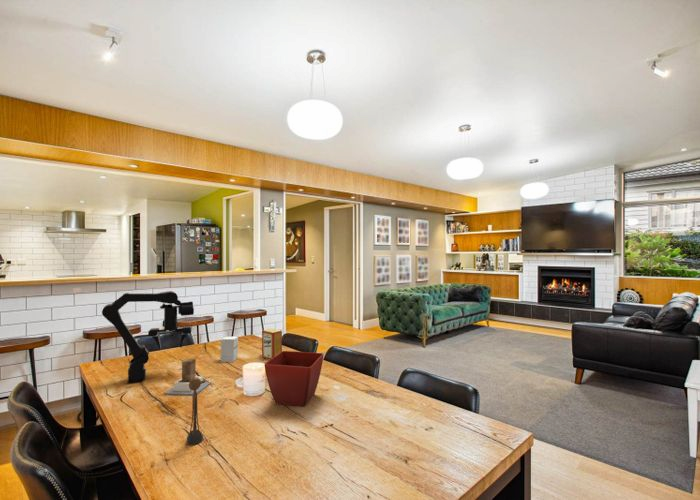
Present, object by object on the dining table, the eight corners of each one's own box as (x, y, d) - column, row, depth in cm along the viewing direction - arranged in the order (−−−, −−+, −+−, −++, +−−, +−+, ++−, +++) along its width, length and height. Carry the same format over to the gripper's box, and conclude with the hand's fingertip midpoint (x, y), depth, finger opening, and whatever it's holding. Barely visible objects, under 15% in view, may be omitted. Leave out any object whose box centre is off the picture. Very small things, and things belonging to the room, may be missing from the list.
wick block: (181, 388, 152) (181, 361, 152) (186, 385, 156) (186, 358, 156) (190, 389, 152) (190, 361, 152) (195, 385, 156) (195, 358, 156)
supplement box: (233, 362, 192) (233, 339, 192) (220, 362, 192) (220, 339, 192) (238, 358, 199) (238, 336, 200) (225, 358, 200) (225, 336, 200)
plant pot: (310, 411, 131) (310, 367, 131) (263, 407, 135) (263, 363, 135) (324, 392, 150) (324, 353, 150) (282, 388, 154) (282, 350, 154)
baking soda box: (281, 357, 200) (281, 330, 200) (273, 360, 195) (273, 332, 195) (270, 355, 206) (270, 328, 206) (262, 357, 200) (262, 329, 201)
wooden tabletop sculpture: (200, 434, 115) (200, 373, 115) (208, 438, 112) (209, 376, 112) (183, 442, 110) (183, 378, 110) (191, 446, 107) (191, 381, 108)
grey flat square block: (163, 394, 148) (163, 385, 148) (182, 382, 162) (182, 373, 162) (195, 395, 146) (195, 386, 146) (211, 383, 160) (211, 374, 160)
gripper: (192, 313, 183) (192, 342, 183) (152, 315, 177) (152, 346, 177) (190, 316, 173) (190, 348, 173) (148, 319, 166) (147, 351, 166)
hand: (170, 348), depth 172 cm, fingers open, 9 cm apart
